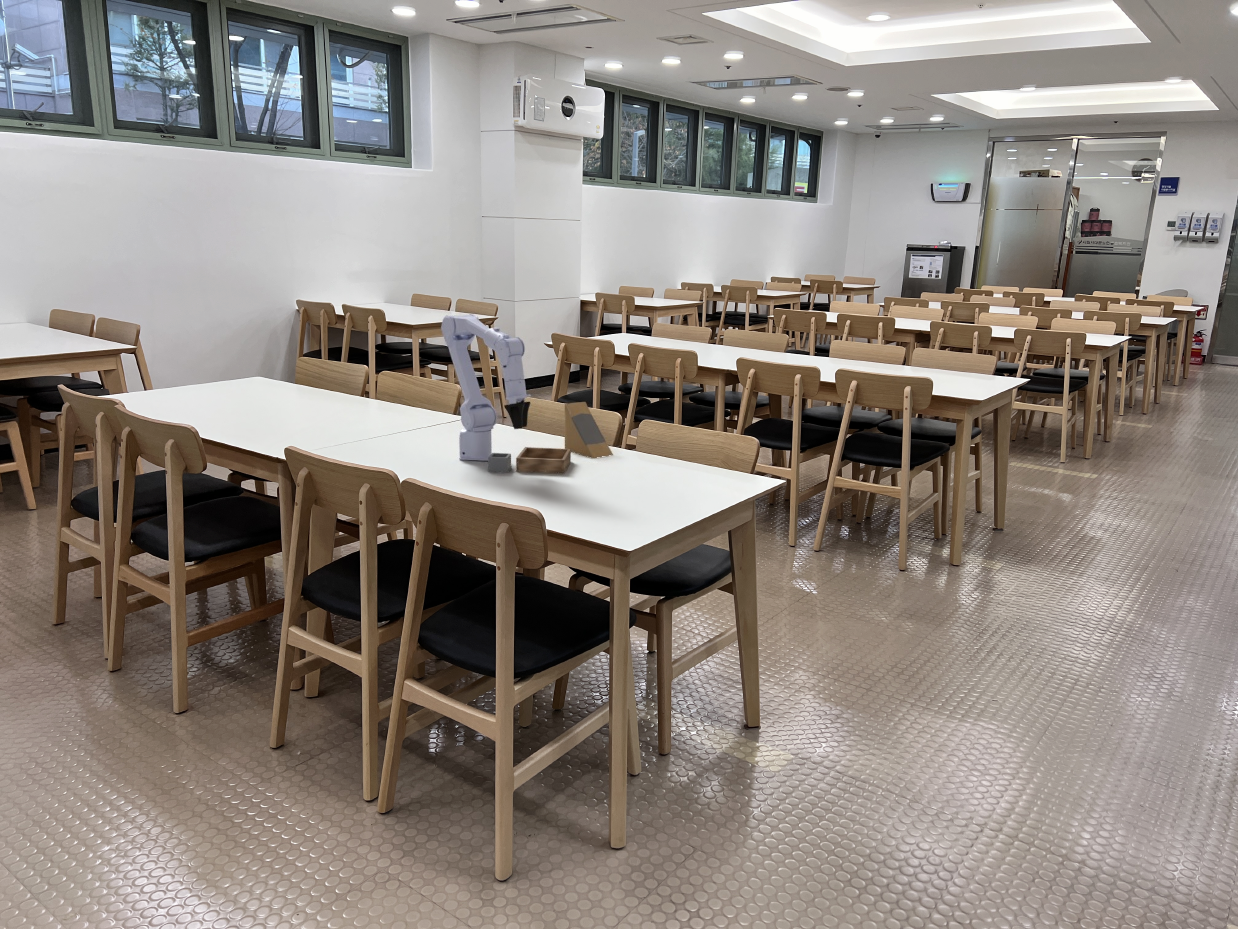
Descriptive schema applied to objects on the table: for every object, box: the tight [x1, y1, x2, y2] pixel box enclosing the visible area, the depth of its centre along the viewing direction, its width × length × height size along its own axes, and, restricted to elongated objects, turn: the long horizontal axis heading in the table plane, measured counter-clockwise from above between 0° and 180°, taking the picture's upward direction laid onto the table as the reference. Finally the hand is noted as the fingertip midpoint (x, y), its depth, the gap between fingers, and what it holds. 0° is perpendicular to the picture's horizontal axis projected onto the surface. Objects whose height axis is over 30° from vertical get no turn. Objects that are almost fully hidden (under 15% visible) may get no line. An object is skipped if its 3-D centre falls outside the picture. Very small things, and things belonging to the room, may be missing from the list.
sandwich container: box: [564, 401, 614, 459], centre depth 275 cm, size 9×15×15 cm, turn 41°
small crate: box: [487, 452, 512, 474], centre depth 253 cm, size 6×6×4 cm
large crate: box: [515, 446, 572, 475], centre depth 258 cm, size 14×14×4 cm
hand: (520, 428), depth 249 cm, fingers open, 7 cm apart
